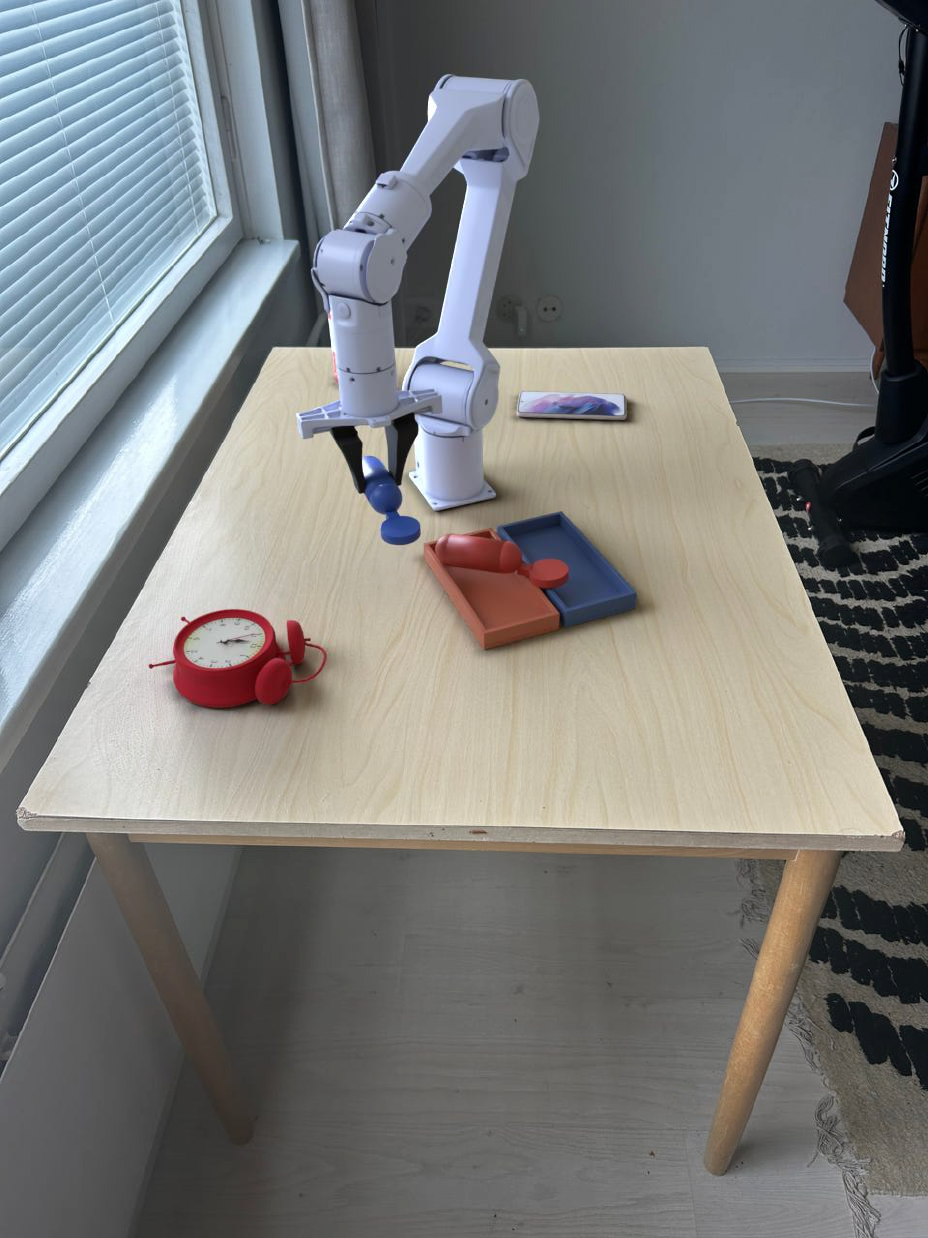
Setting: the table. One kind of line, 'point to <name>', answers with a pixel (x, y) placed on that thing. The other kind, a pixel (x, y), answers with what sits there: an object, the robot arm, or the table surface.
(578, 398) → the smartphone
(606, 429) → the table surface
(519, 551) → the red capsule with disc
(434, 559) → the red tray
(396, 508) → the blue capsule with disc
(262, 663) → the alarm clock
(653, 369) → the table surface
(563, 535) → the blue tray
